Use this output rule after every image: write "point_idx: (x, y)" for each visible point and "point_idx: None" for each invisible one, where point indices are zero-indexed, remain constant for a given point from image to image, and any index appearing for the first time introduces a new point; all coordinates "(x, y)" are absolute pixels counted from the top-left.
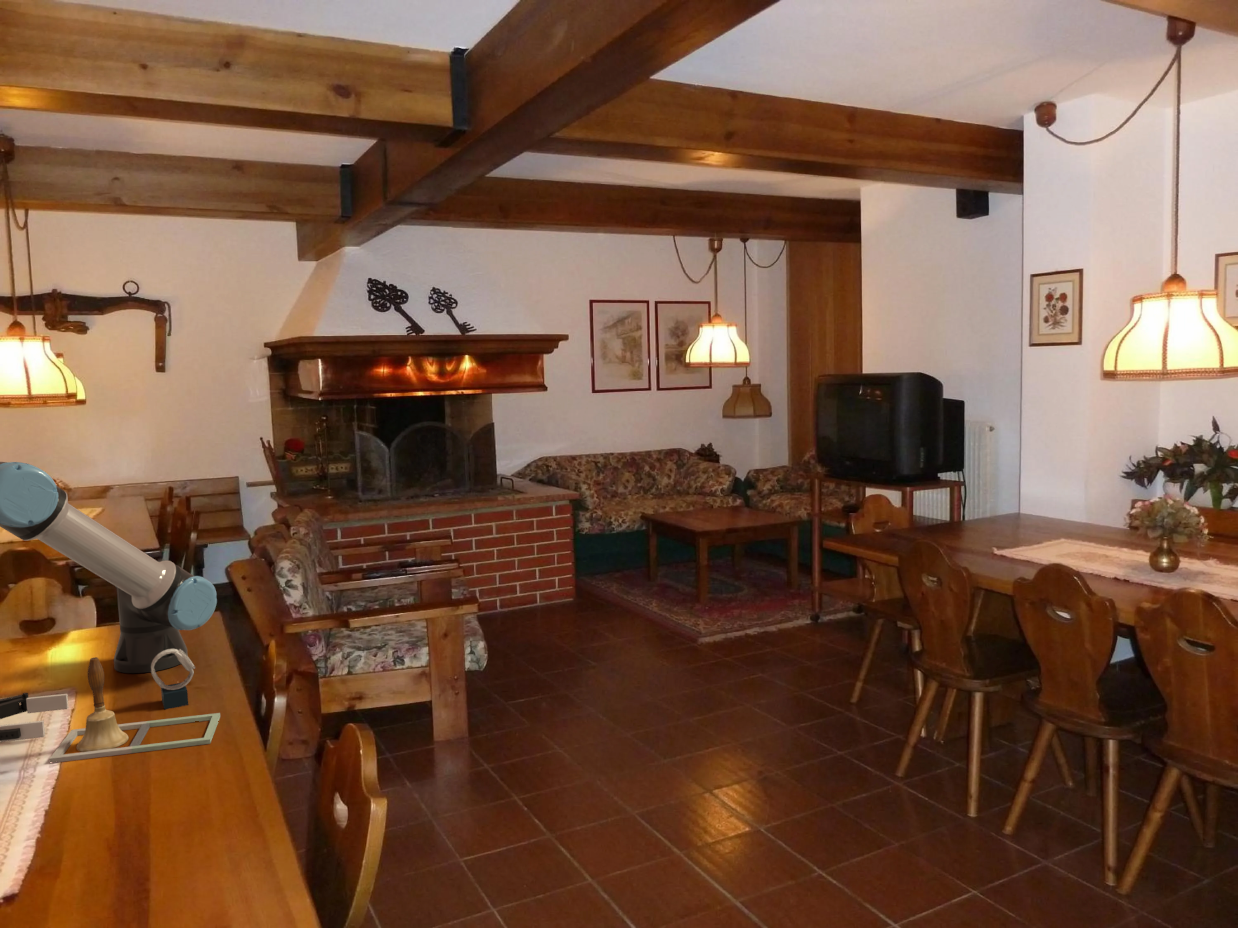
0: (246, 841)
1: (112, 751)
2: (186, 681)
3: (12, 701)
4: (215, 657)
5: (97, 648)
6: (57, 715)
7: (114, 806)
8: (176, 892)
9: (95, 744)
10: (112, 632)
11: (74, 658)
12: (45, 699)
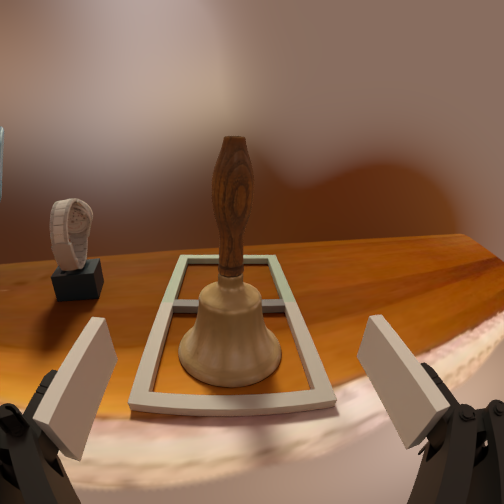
0: (434, 242)
1: (302, 319)
2: (80, 252)
3: (32, 477)
4: None
5: None
6: None
7: (436, 289)
8: (481, 253)
9: (273, 341)
10: None
11: None
12: (80, 373)
